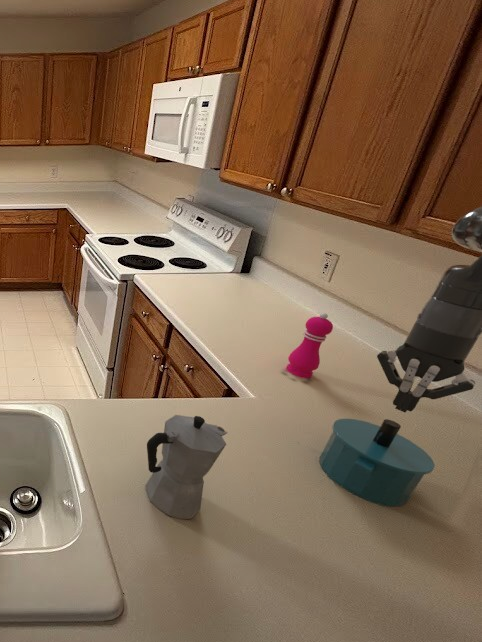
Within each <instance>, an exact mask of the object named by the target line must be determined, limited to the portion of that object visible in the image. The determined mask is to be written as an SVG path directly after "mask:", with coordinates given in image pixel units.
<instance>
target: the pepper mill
mask: <svg viewBox="0 0 482 642" xmlns="http://www.w3.org/2000/svg"><path fill="white" fill-rule="evenodd" d="M328 317H329V315H328V313H326V312H320V314H319V316H312V317H310V318H307V321H306V322H305V325H304V326H305V329H306V330H304V333H303V340H302V341H301V343H300V344H299V346H297V347H295V349H293V350H292V351H291V352H290V354H289V355H288V359H287V360H288V362H289V363H288V364H287V365H286V367H285V370H286V371H287V372H288V373H290V374H291V375H294V376H296V377H299V378H302V379H311V378H312V377H313V374H314V373H313V372H314V371H315V370H317V369H318V368H319V366H320V365H321V364H320V363H321V357H320V348H321V345H322V344H323V342H325V341H326V339H327V335H330V334H331V333H332V331H333V329H334V325H333V323H332V322H331V321H330V320H329V319H328Z"/></svg>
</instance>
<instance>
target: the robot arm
mask: <svg viewBox="0 0 482 642" xmlns="http://www.w3.org/2000/svg"><path fill="white" fill-rule="evenodd" d="M451 237H452V239H453V241H454V242H455V243H456V244H457V245H459V246H461V247H463V248H464V249H468V250H471V251H475V252H479V253H482V205H481V206H479V207H476V208H474V209H472V210H470V211H468V212H467V213H465V214H464V215H462V216H460V217H459V219H458V220H456V222H455V223H454V224H453V225H452V228H451ZM481 335H482V254H481V255H480V256H479V257H478V258H477V259H476V260H475V261H474V262H472V264H455V265H451V266H449V267H447V269H445V270H444V271H443V273H442V275H441V277H440V278H439V281H438V282H437V284H436V286H435V288H434V290H433V292H432V294H431V295H430V297H429V298H428V300H427V301H426V302H425V304H424V305H423V306H422V308H421V310H420V312H419V313H418V314H417V317H416V320H415V321H414V324H413V325H412V328H411V329H410V331H409V333H408V334H407V337H406V339H405V340H404V343H403V344H402V345H400V346H398V347H397V348H396V350H389V351H387V350H381V351H380V352H379V353H378V354H377V355H376V359H377V360H378V362H379V365H380V367H381V368H382V371H383V372H384V375H385V377H386V380H387V381H388V383H389V384H390V385H393V386H395V387H396V388H398V391H397V392H396V395H395V397H394V399H393V401H392V405H393V406H395V408H394V409H395V410H398V411H401V412H402V413H407V411H408V412H412V411H414V410H415V409H416V407H417V406H418V403H419V402H420V400H421V399H422V398H427V399H430V400H438V399H441V398H446V397H449V396H453V395H457V394H460V393H464V392H467V391H472V390H473V389H474V387H475V385H476V381H475V380H473V379H470V378H469V377H468V376H467V375H466V374H465V373H464V371H465V361H466V360H467V357H468V356H469V354H470V353H471V351H472V349H473V348H474V347H475V344H476V343H477V341H478V339H479V338H480V336H481ZM397 359H398V362H399V364H400V366H401V369H402V371H404V372H405V373H404V375H403V378H402V377H401V375H400V373H399V372H398V369H397V367H396V364H395V363H396V361H397ZM453 377H455V378H453ZM416 378H419V379H420V380H419V382H418V383H417V385H416V386H415V388H414V389H413V386H414V383H415V381H416ZM450 378H453V379H452V380H451V383H450V384H445V385H442V386H439V387H436V388H429V386H430V385H431V383H432V382H433V383H435V382H441V381H444V380H447V379H450ZM412 389H413V390H412Z"/></svg>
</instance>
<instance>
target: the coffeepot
mask: <svg viewBox="0 0 482 642" xmlns="http://www.w3.org/2000/svg"><path fill="white" fill-rule="evenodd" d="M227 434H228V431H226V430H225V429H224V428H223V427H221V426H218V425H217V424H210V423H207V422H206V420H205V418H203V417H202V416H198V415H195V416H187V415H181V414H174V415H173V416H171V417H169V418H168V419H167V420H165V421H164V429H163V432H157V433H155V434H154V435H152V437H150V438H149V439H148V440H147V442H146V452H147V466H148V471H149V472H150V473H151V476H150V477H149V478H148V480H147V482H146V484H145V489H146V495H147V497H148V499H149V501H150V502H151V503H152V505H154V507H155V508H156V509H158V510H159V511H160V512H162V513H163V514H165V515H167V516H169V517H172V518H175V519H179V520H192V518H193V517H195V516H196V515H197V514H198V512H200V510H201V507H202V499H203V490H204V484H205V482H204V481H205V480H204V477H205V476H206V475H207V474H208V473H209V472H210V471H211V469H212V467H213V466H214V464H215V463H216V461H217V460H218V459H219V457H220V455H221V453H222V452H223V450H224V449H225V447H226V446H227V443H226V441H225V439H224V436H225V435H227ZM160 445H162V446H161V456H162V459H161V460H160V461H159V462H158V458H157V454H158V447H159V446H160ZM157 463H158V464H157Z"/></svg>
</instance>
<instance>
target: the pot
mask: <svg viewBox="0 0 482 642" xmlns="http://www.w3.org/2000/svg"><path fill="white" fill-rule="evenodd" d="M319 465H320V467H321V469H322V470H323V472H324V473H325V474H326V475H327V476H328V477H329V478H330V479H331V480H332V481H333V482H334V483H336V484H337V485H338V486H339V487H341V488H343V489H344V490H346V491H347V492H350V493H351V494H353V495H354V496H357V497H358V498H361V499H363V500H366V501H368V502H370V503H374V504H377V505H381V506H385V507H391V508H393V507H394V508H395V507H401V506H404V505H405V504H407V502H408V501H409V499H410V497H411V496H412V494H413V493H414V491H415V489H416V488H417V486H418V485H419V483H420V482H421V480H422V479H423V478H424V476H425V474H423V475H418V474H409V473H405V472H401V471H397V470H394V469H391V468H388V467H385V466H383V465H380V464H378V463H376V462H374V461H372V460H369V459H368V458H366V457H364V456H362V455H360V454H359V453H357V452H355V451H354V450H352V449H351V448H349V447H348V446H347V445H345V444H344V443H343V442H342V441H341V440H340V439H339V438H338V437H337V436H336V435H335V433H334V432H333V431H332V432H331V434H330V436H329V439H328V440H327V442H326V444H325V446H324V448H323V450H322V451H321V454H320V456H319Z"/></svg>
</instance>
